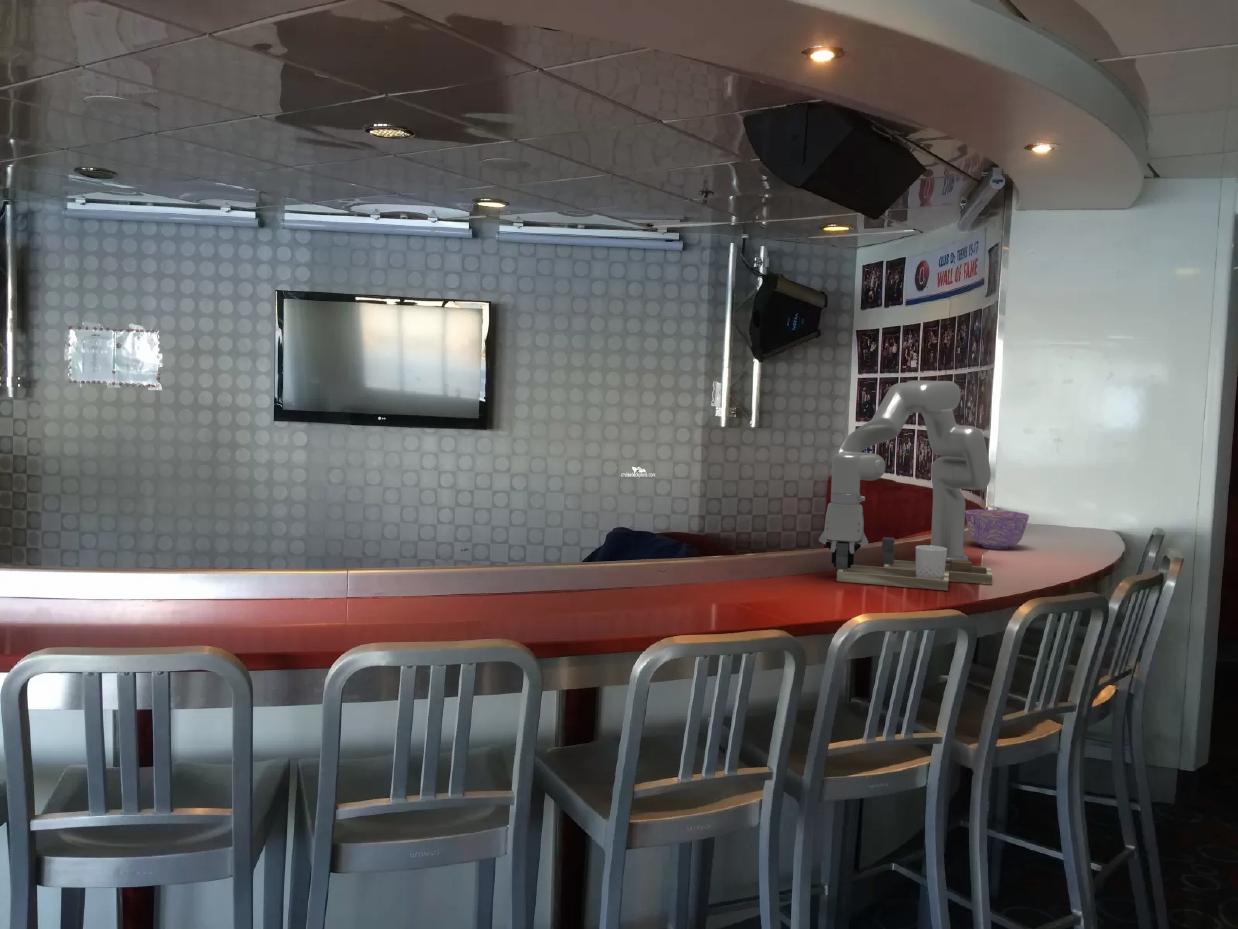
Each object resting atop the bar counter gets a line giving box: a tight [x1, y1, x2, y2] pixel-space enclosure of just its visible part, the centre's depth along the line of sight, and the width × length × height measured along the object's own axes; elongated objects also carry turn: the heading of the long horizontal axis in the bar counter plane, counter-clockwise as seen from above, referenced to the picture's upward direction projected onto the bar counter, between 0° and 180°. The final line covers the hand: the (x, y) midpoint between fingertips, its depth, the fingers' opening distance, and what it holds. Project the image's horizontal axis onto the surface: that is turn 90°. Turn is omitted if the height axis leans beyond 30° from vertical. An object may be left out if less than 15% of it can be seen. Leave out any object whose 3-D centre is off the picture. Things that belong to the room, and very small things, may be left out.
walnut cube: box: [948, 559, 973, 573], centre depth 268 cm, size 5×5×5 cm
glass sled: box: [835, 541, 950, 592], centre depth 260 cm, size 13×29×10 cm, turn 71°
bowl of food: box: [965, 509, 1030, 550], centre depth 326 cm, size 20×20×12 cm
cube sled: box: [881, 536, 993, 585], centre depth 270 cm, size 13×29×10 cm, turn 71°
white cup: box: [915, 544, 947, 580], centre depth 257 cm, size 8×8×10 cm
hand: (842, 566), depth 264 cm, fingers closed on glass sled, 3 cm apart
